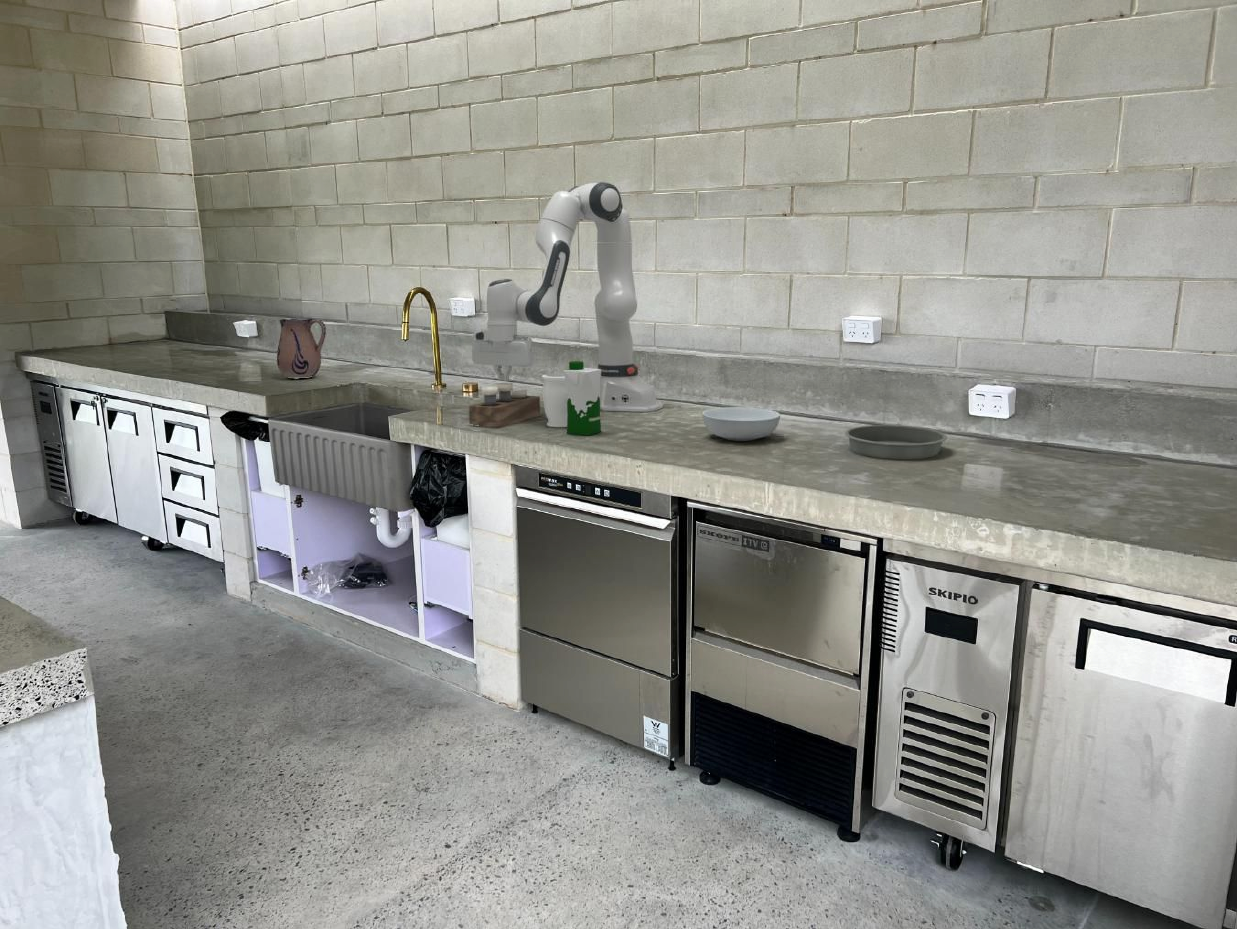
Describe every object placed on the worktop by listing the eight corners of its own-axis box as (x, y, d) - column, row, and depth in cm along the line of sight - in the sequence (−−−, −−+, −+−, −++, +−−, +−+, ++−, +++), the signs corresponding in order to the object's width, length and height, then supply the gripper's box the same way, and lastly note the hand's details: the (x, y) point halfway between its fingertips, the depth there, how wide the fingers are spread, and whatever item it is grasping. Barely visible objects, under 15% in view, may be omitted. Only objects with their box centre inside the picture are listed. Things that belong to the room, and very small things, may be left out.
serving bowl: (726, 448, 240) (727, 422, 238) (688, 434, 258) (688, 410, 257) (794, 441, 248) (795, 415, 246) (753, 428, 266) (753, 404, 265)
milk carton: (579, 429, 269) (578, 359, 264) (606, 431, 264) (604, 361, 260) (562, 434, 262) (560, 363, 257) (588, 436, 257) (587, 364, 252)
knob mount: (540, 415, 293) (539, 396, 292) (498, 428, 272) (497, 407, 271) (513, 413, 297) (512, 394, 296) (469, 425, 276) (468, 405, 275)
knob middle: (516, 404, 285) (515, 383, 283) (507, 406, 280) (506, 385, 279) (503, 403, 287) (502, 382, 285) (494, 405, 282) (493, 384, 281)
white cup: (551, 429, 268) (550, 378, 265) (537, 424, 277) (536, 374, 274) (584, 426, 273) (583, 375, 270) (570, 421, 282) (569, 371, 279)
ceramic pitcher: (284, 376, 400) (278, 317, 395) (334, 375, 402) (329, 316, 397) (274, 381, 383) (268, 320, 378) (326, 380, 385) (321, 319, 380)
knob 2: (530, 410, 292) (529, 389, 291) (522, 412, 288) (521, 391, 287) (517, 409, 294) (516, 388, 293) (509, 411, 290) (508, 391, 289)
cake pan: (837, 457, 227) (838, 439, 226) (850, 439, 250) (851, 422, 249) (944, 464, 219) (945, 445, 218) (947, 444, 241) (948, 427, 240)
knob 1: (501, 408, 278) (501, 386, 276) (492, 410, 273) (492, 388, 272) (488, 407, 280) (487, 385, 278) (479, 409, 275) (478, 387, 274)
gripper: (537, 334, 277) (538, 381, 280) (480, 332, 286) (481, 377, 289) (526, 336, 271) (527, 383, 274) (468, 334, 280) (470, 379, 283)
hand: (503, 380), depth 282 cm, fingers closed
